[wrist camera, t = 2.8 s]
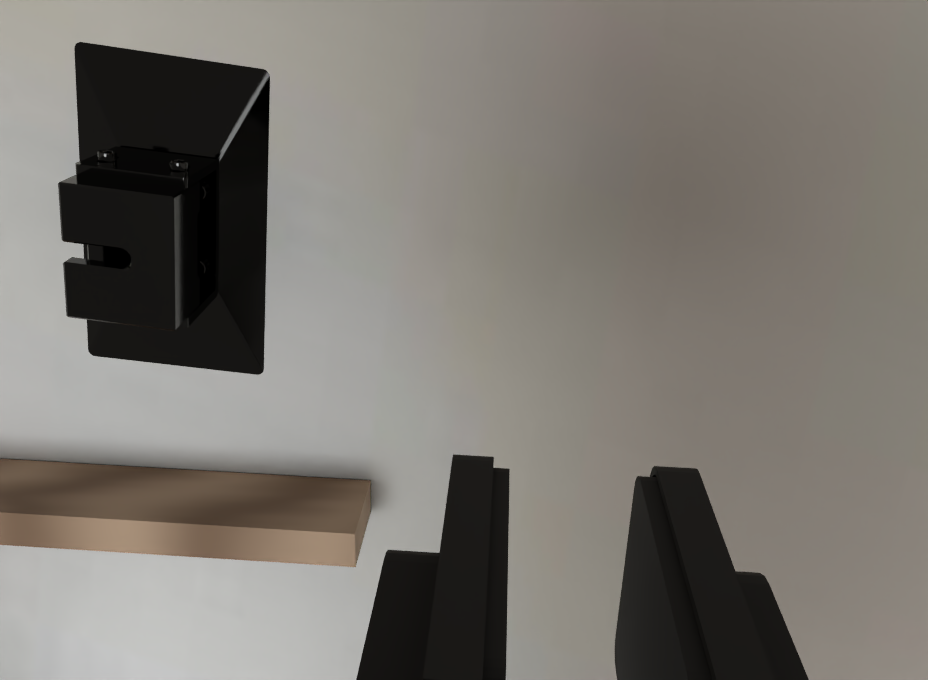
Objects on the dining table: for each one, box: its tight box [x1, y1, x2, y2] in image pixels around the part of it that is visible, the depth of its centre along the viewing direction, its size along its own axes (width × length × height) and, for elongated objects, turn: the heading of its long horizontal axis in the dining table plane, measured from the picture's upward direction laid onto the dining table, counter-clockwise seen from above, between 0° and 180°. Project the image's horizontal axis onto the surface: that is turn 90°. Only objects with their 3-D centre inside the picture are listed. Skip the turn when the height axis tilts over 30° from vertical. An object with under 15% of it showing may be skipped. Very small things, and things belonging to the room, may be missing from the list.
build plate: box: [58, 42, 270, 374], centre depth 24 cm, size 12×7×5 cm, turn 173°
